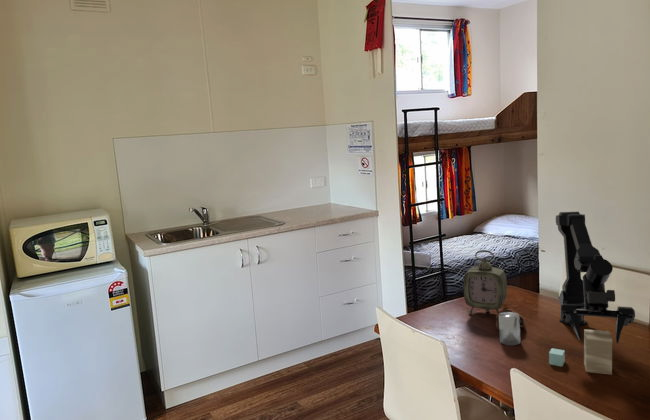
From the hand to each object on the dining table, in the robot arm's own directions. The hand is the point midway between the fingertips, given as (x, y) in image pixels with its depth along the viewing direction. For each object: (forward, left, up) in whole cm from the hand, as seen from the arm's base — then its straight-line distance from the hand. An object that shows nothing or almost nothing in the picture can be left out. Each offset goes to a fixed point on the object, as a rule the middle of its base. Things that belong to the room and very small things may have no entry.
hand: (598, 341), depth 139 cm
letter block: (+6, -9, -9) cm, 14 cm away
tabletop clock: (-1, -51, -9) cm, 52 cm away
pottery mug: (+1, -36, -9) cm, 37 cm away
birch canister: (-1, -1, -9) cm, 9 cm away
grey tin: (+8, -27, -9) cm, 30 cm away
